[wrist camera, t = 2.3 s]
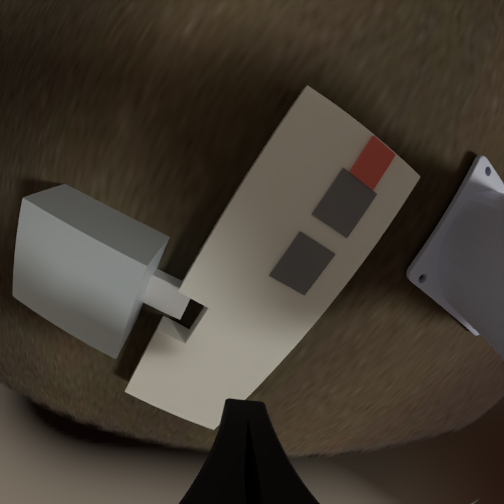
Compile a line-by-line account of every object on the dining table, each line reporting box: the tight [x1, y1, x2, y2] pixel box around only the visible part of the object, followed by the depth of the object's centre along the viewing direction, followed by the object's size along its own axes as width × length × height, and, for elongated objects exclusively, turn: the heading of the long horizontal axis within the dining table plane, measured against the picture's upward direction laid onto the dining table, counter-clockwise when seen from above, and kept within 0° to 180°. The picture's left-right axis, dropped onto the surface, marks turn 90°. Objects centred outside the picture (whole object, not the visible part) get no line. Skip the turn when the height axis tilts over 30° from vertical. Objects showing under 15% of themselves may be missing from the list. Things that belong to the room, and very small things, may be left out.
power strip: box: [125, 85, 420, 430], centre depth 13 cm, size 6×18×1 cm, turn 148°
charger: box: [13, 184, 190, 359], centre depth 12 cm, size 8×5×4 cm, turn 62°
